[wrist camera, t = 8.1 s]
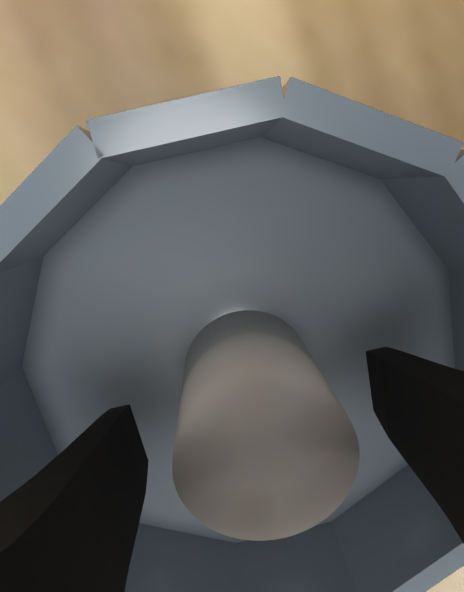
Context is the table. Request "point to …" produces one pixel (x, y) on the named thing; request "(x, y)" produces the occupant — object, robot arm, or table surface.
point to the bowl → (236, 308)
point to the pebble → (259, 432)
